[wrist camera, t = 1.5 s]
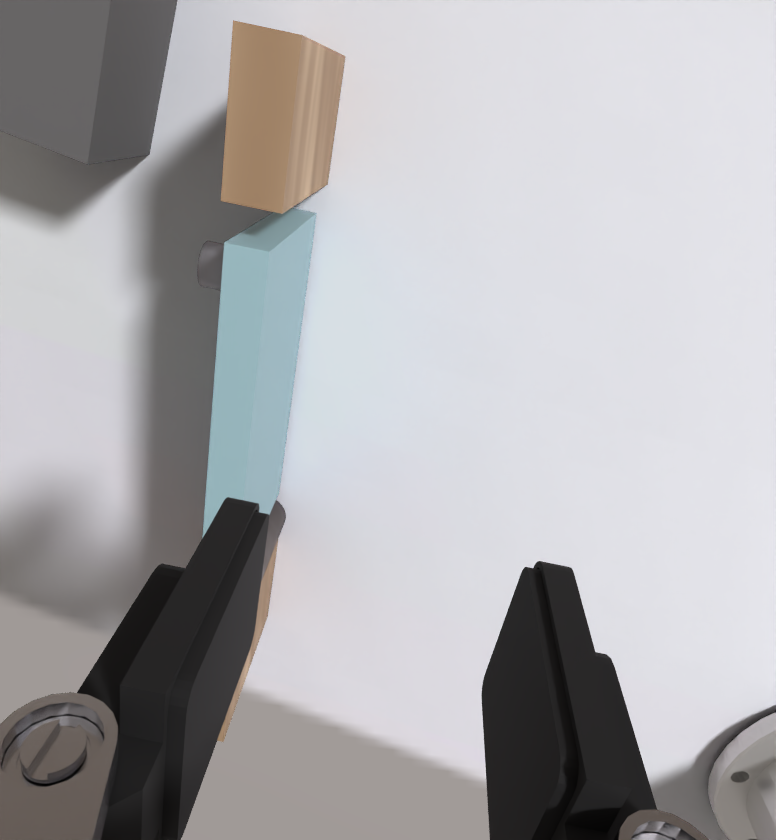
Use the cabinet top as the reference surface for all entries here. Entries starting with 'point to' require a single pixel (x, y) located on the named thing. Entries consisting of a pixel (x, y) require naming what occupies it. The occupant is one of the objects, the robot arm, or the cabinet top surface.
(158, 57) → the charcoal brick
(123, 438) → the cabinet top surface
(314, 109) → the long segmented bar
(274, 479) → the door
